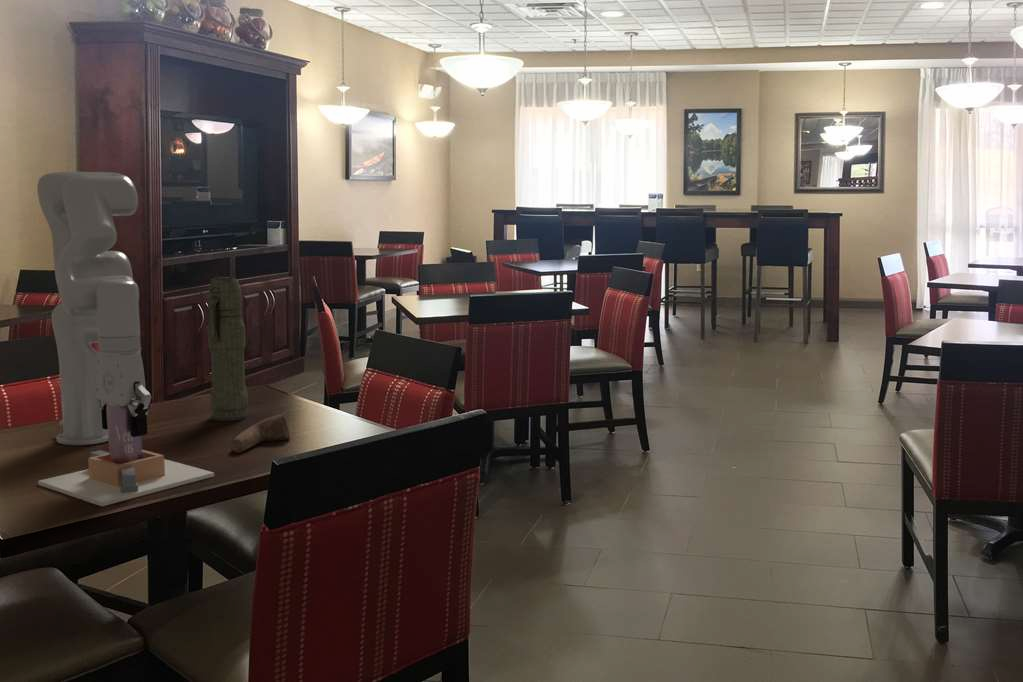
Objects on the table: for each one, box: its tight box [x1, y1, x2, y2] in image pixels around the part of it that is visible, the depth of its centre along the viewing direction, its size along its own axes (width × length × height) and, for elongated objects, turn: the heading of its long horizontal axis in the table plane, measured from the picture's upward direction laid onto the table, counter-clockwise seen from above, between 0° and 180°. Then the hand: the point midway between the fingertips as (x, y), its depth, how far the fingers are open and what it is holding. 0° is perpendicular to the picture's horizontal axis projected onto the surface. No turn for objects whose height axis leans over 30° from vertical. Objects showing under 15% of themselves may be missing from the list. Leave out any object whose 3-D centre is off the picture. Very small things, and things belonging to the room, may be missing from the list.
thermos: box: [207, 276, 249, 422], centre depth 247 cm, size 9×12×35 cm
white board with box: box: [37, 449, 215, 507], centre depth 194 cm, size 22×24×5 cm
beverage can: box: [106, 403, 143, 464], centre depth 193 cm, size 6×6×15 cm
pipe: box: [230, 412, 291, 453], centre depth 222 cm, size 6×17×10 cm
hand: (124, 431), depth 193 cm, fingers open, 9 cm apart
